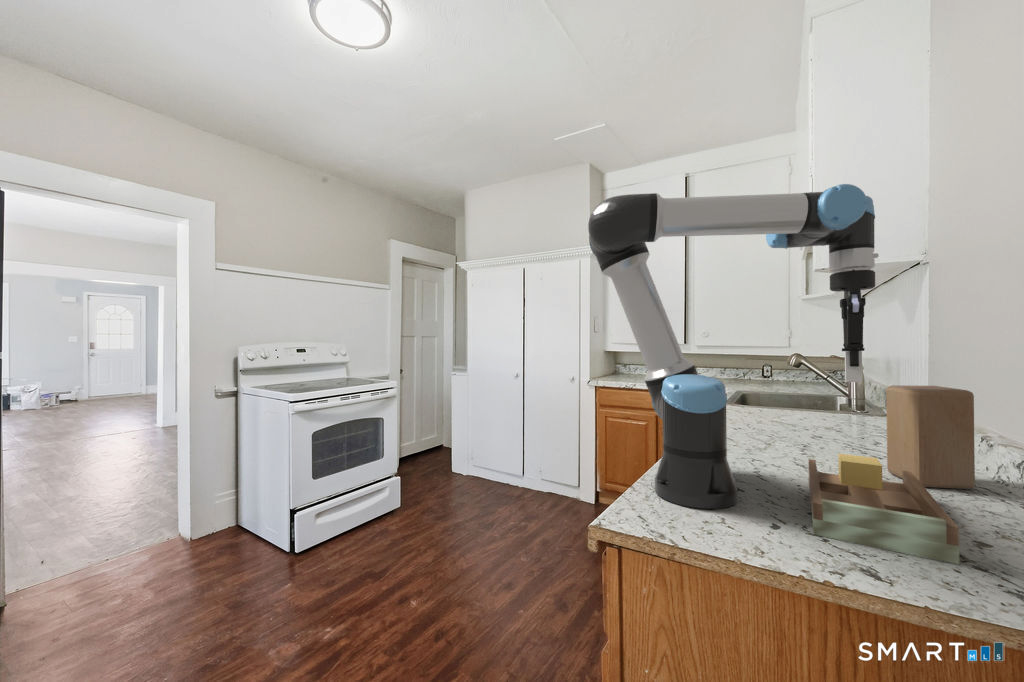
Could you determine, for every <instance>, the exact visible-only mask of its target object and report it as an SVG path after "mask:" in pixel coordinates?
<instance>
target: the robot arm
mask: <svg viewBox="0 0 1024 682" xmlns="http://www.w3.org/2000/svg"><path fill="white" fill-rule="evenodd" d="M874 205H875V204H874V201H873V198H872V197H870V196H869V195H866V193H865V192H864V190H862V189H861V188H860V187H858V186H857V185H854V184H850V183H849V184H848V183H842V184H838V185H835V186H832V187H829V188H827V189H825V190H824V191H818V192H817V191H816V192H815V191H814V192H813V191H811V192H810V191H809V192H798V193H795V192H794V193H774V194H773V193H771V194H747V195H746V194H745V195H744V194H743V195H742V194H741V195H719V196H718V195H717V196H694V197H693V196H692V197H691V196H690V197H689V196H688V197H667V198H665V197H662V196H661V195H660V194H659V193H658V192H657V193H654V192H653V193H632V194H622V195H615V196H612V197H608V198H606V199H603V200H602V201H601V202H600V203H598V204H597V205H596V206H595V207H594V209H593V210H592V211H591V214H590V216H589V219H588V224H587V225H588V227H587V228H588V235H589V236H588V241H589V247H590V249H591V250H590V251H591V252H592V254H593V255H594V256H595V257H596V258H595V259H596V260H597V263H598V265H599V268H600V270H601V273H602V275H605V276H607V277H609V278H610V279H611V281H612V284H613V286H614V288H615V291H616V293H617V296H618V298H619V300H620V303H621V306H622V308H623V311H624V314H625V317H626V320H627V321H628V324H629V326H630V329H631V332H632V333H633V334H632V335H633V336H634V339H635V342H636V344H637V346H638V349H639V351H640V354H641V357H642V359H643V362H644V365H645V367H646V370H647V372H646V374H645V376H644V378H643V379H644V382H645V385H646V387H647V391H648V392H649V395H650V399H651V404H652V408H653V409H654V412H655V413H656V415H657V416H658V417H659V418H660V419H661V420H662V444H663V445H662V449H663V450H662V451H663V452H662V456H661V460H660V461H659V462H660V463H659V464H658V467H657V468H658V469H657V471H656V474H655V477H654V492H655V493H656V494H657V495H658V497H660V498H662V499H664V500H666V501H668V502H670V503H673V504H677V505H680V506H684V507H689V508H695V509H706V510H707V509H708V510H709V509H713V510H714V509H715V510H717V509H725V508H730V507H732V506H734V505H736V504H737V503H738V501H739V500H738V499H739V498H738V495H739V494H738V487H737V484H736V480H735V478H734V475H733V472H732V470H731V467H730V465H729V462H728V461H729V460H728V458H727V457H728V453H727V446H728V445H727V402H728V397H727V393H726V391H727V390H726V386H725V384H724V383H723V382H722V380H720V379H718V378H716V377H713V376H706V375H701V374H699V373H698V370H697V368H696V365H695V363H694V362H692V361H690V360H688V359H686V358H685V357H684V354H683V352H682V350H681V346H680V344H679V342H678V340H677V337H676V334H675V332H674V330H673V327H672V324H671V321H670V319H669V317H668V315H667V312H666V310H665V307H664V304H663V302H662V300H661V297H660V294H659V292H658V289H657V287H656V285H655V283H654V282H655V281H654V279H653V277H652V275H651V271H650V269H649V267H648V265H647V261H648V260H649V257H650V254H651V253H650V251H649V249H648V246H647V244H646V243H655V242H656V241H658V240H659V238H666V237H667V238H669V237H700V236H701V237H705V236H712V237H713V236H744V235H745V236H748V235H765V240H766V243H767V245H768V247H770V248H771V249H789V248H805V247H818V246H822V247H823V246H828V249H829V250H828V264H829V265H828V270H829V272H831V274H830V275H829V290H830V291H831V292H844V293H843V298H841V299H840V300H839V307H840V308H841V313H840V314H841V319H842V327H843V348H841V352H844V381H845V382H847V383H863V351H865V347H864V317H865V306H866V300H867V299H866V297H862V291H866V290H872V289H874V288H875V287H876V271H874V270H872V269H874V268H875V266H876V265H875V263H876V262H875V261H876V260H875V259H877V258H878V257H879V253H878V252H877V253H875V219H876V214H875V206H874Z"/></svg>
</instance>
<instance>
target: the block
mask: <svg viewBox="0 0 1024 682" xmlns="http://www.w3.org/2000/svg"><path fill="white" fill-rule="evenodd" d="M885 391H886V392H885V394H886V395H885V396H886V455H887V456H886V457H887V458H886V459H887V460H886V462H887V463H886V465H887V466H886V467H887V472H888V473H889V474H891V475H894V476H896V477H898V478H899V479H902V480H903V471H909V472H912V473H913V475H914V476H915V477H916V478H917V479H918V480H919V482H920V483H921V484H922V485H923V486H924V488H934V489H935V488H936V489H954V490H957V489H958V490H960V489H961V490H971V489H974V488H975V487H976V486H975V485H976V479H975V478H976V477H975V476H976V475H975V473H976V471H975V466H976V465H975V463H976V462H975V395H974V393H973V392H972V391H970V390H968V389H962V388H960V389H959V388H953V387H947V386H938V385H897V384H895V385H894V384H893V385H889V386H887V387H886V390H885Z"/></svg>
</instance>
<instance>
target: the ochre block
mask: <svg viewBox="0 0 1024 682" xmlns="http://www.w3.org/2000/svg"><path fill="white" fill-rule="evenodd" d="M837 458H838V459H837V460H838V463H837V465H838V466H837V467H838V475H839V478H840V482H841V484H844V485H851V486H858V487H864V488H871V489H878V490H882V481H883V465H882V463H881V462H880V460H879V459H878V458H877V457H873V456H872V457H870V456H863V455H852V454H844V453H838V455H837Z"/></svg>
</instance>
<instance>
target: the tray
mask: <svg viewBox="0 0 1024 682" xmlns="http://www.w3.org/2000/svg"><path fill="white" fill-rule="evenodd" d="M808 488H809V489H808V490H809V499H810V507H811V508H810V509H811V510H810V512H811V518H812V519H811V520H812V530H813V531H812V533H813V536H814V535H815V536H819V537H824V538H830V539H833V540H838V541H844V542H848V543H852V544H859V545H863V546H868V547H872V548H877V549H882V550H887V551H891V552H892V551H893V552H896V553H900V552H901V553H902V554H906V555H911V556H915V555H916V557H920V556H922V557H921V558H925V557H927V558H926V559H929V558H930V559H931V560H935V561H940V562H945V563H949V564H954V565H960V528H959V526H958V525H957V524H956V523H955V521H953V519H952V518H951V516H949V515H948V513H947V512H946V511H945V509H943V507H942V506H941V505H940V504H939V503H938V501H937V500H936V499H935V498H934V497H933V495H932V494H930V492H929V491H928V490H927V489H926V487H924V486H923V485H922V484H921V483H920V482H919V480H918V479H917V478H916V477H915V476H914V475H913V473H912V472H909V471H903V479H902V482H894V481H888V480H887V481H886V480H882V490H878V489H871V488H864V487H858V486H851V485H844V484H841V482H840V478H839V474H837V473H836V474H835V473H834V474H833V473H827V472H820V471H818V468H817V461H816V459H810V458H809V459H808ZM930 559H929V560H930Z"/></svg>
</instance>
